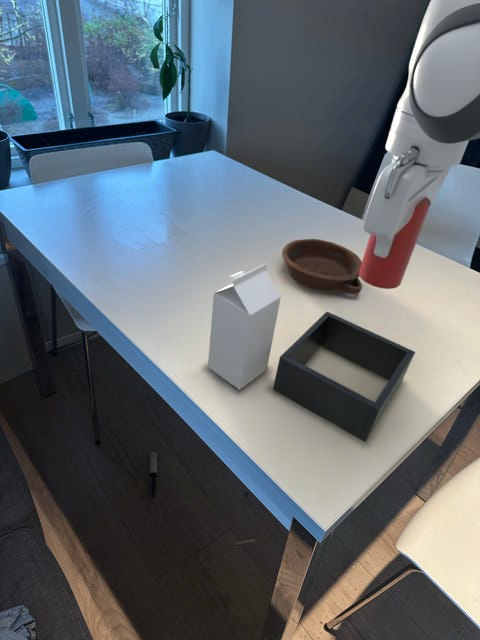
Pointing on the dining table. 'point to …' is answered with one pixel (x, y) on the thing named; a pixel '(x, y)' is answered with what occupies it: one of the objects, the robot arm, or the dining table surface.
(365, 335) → the open box
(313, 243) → the dish
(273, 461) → the dining table surface
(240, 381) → the milk carton
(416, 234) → the can
